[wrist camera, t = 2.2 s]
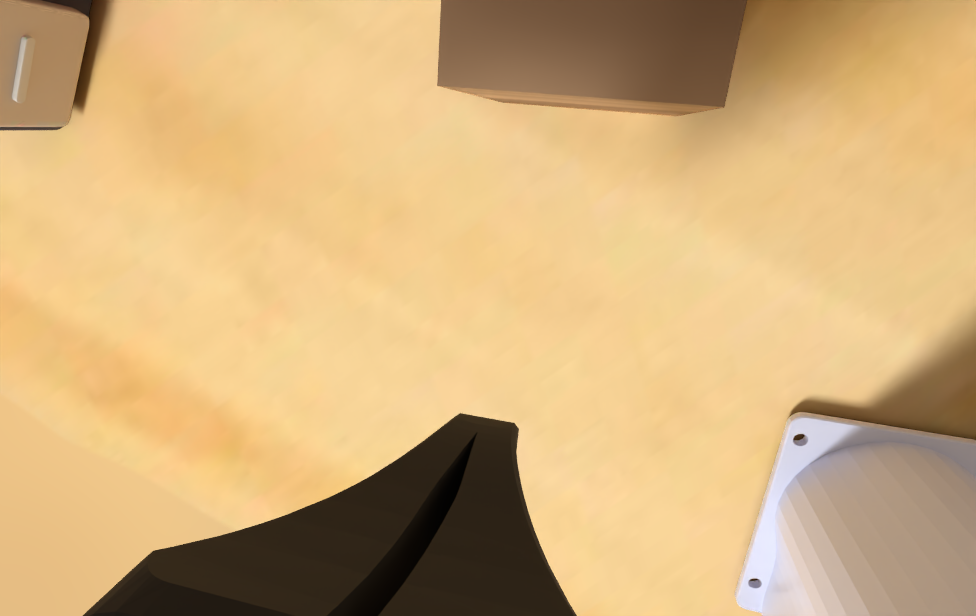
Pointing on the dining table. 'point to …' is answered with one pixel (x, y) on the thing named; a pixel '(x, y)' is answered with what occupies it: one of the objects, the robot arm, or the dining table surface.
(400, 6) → the dining table surface
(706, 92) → the walnut block
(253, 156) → the dining table surface
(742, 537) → the dining table surface
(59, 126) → the calculator
